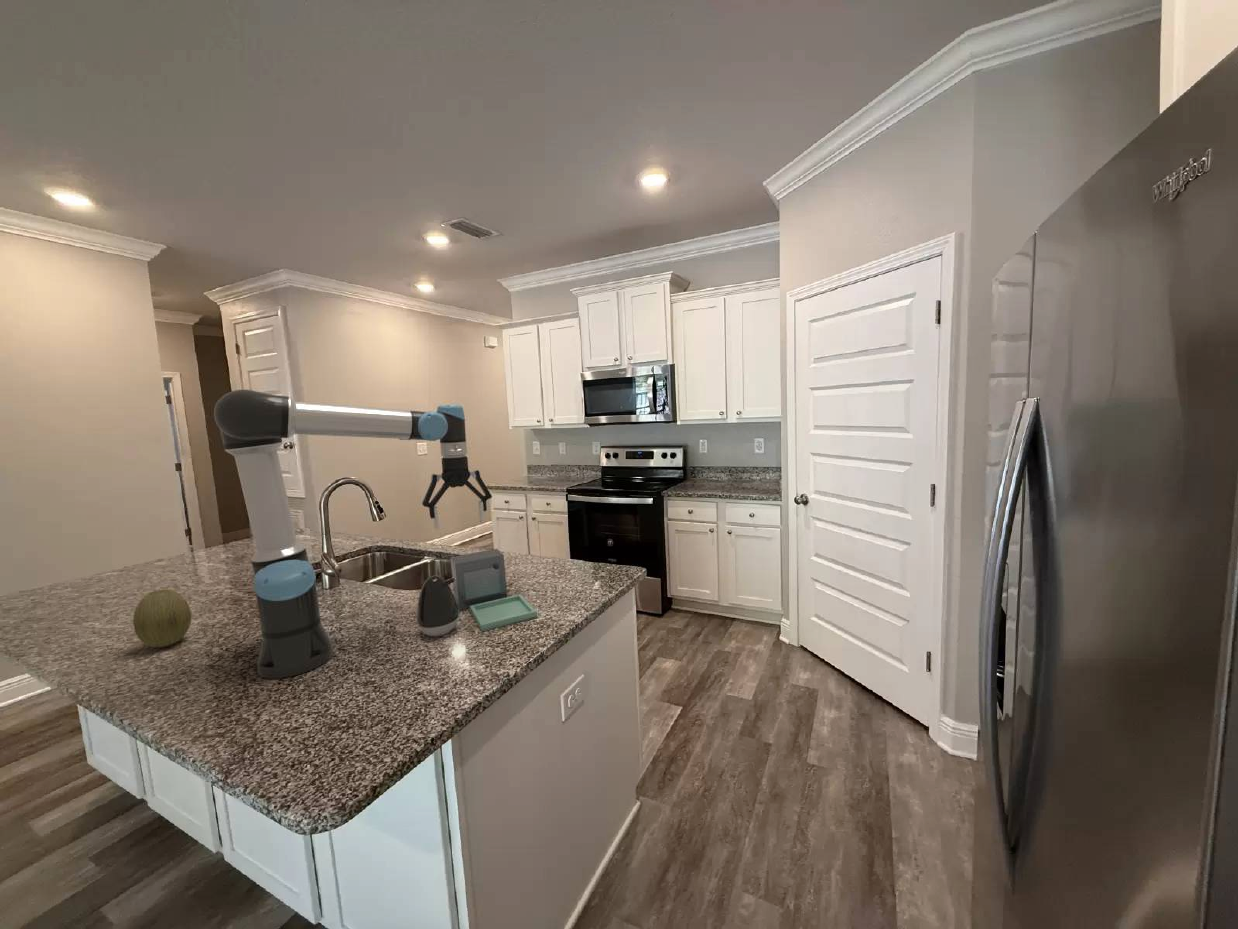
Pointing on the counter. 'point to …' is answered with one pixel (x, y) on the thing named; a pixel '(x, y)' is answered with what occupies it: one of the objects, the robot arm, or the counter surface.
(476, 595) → the unit
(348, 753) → the counter surface
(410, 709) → the counter surface
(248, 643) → the counter surface
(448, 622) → the pump dispenser
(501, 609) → the tray
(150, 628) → the fruit
